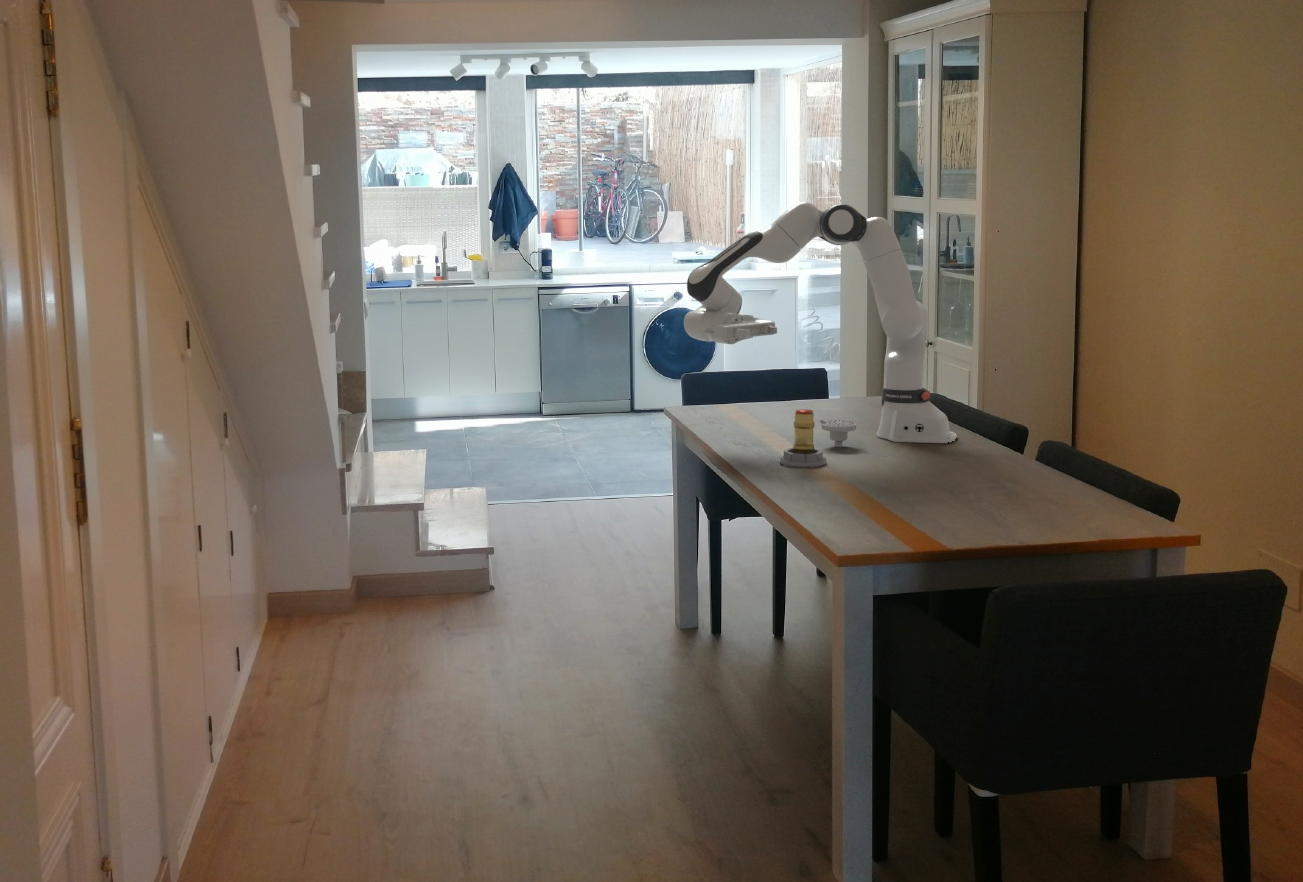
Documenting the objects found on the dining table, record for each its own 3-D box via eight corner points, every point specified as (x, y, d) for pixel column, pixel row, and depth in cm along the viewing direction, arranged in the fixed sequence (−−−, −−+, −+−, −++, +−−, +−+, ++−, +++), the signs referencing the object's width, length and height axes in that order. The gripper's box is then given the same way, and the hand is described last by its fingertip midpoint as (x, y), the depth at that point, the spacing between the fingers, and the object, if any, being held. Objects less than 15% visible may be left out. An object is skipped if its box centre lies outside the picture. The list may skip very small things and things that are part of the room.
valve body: (816, 457, 328) (817, 409, 326) (810, 461, 323) (811, 412, 321) (796, 455, 330) (797, 408, 328) (790, 459, 325) (791, 411, 323)
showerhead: (820, 417, 353) (856, 418, 351) (820, 442, 354) (856, 443, 352) (818, 422, 344) (855, 423, 342) (818, 448, 345) (854, 450, 343)
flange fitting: (831, 460, 330) (831, 448, 329) (819, 469, 319) (819, 457, 319) (787, 457, 335) (787, 445, 334) (774, 465, 324) (774, 453, 323)
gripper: (700, 319, 345) (735, 323, 335) (753, 314, 358) (789, 318, 347) (700, 342, 346) (735, 346, 336) (753, 336, 359) (788, 340, 349)
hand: (763, 332), depth 342 cm, fingers open, 8 cm apart
